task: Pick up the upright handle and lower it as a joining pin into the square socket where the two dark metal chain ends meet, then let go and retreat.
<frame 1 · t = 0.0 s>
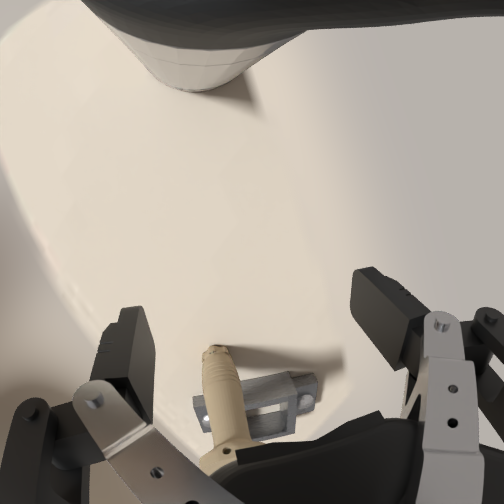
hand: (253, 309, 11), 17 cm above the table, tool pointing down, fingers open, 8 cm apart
handle: (215, 352, 35), on the table
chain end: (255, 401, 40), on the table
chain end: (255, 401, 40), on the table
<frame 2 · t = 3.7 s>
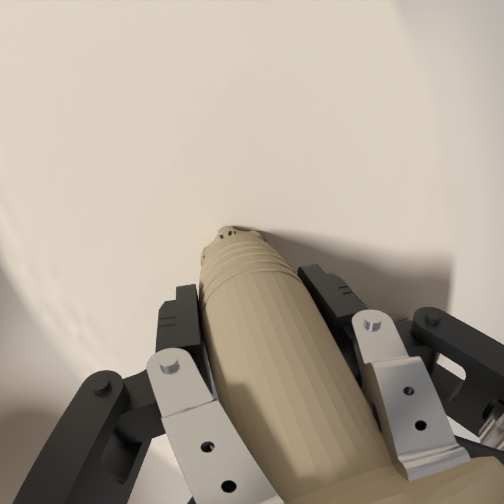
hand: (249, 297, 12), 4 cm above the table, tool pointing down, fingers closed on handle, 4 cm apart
handle: (233, 251, 16), on the table, touching gripper
when the fingers open (6 cm above the table, at t = 9.1 s): handle drops 1 cm, on the table.
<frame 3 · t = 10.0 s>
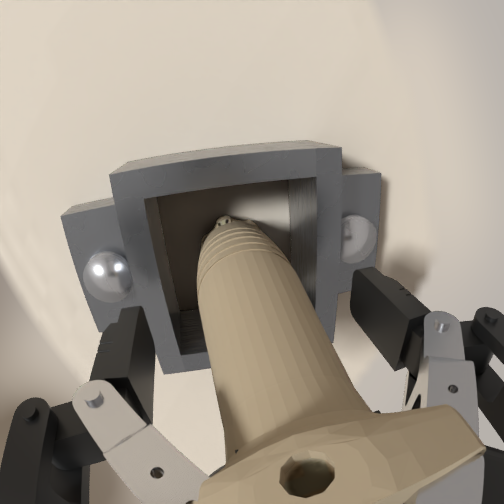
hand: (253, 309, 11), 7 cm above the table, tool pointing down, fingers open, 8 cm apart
handle: (230, 239, 17), on the table
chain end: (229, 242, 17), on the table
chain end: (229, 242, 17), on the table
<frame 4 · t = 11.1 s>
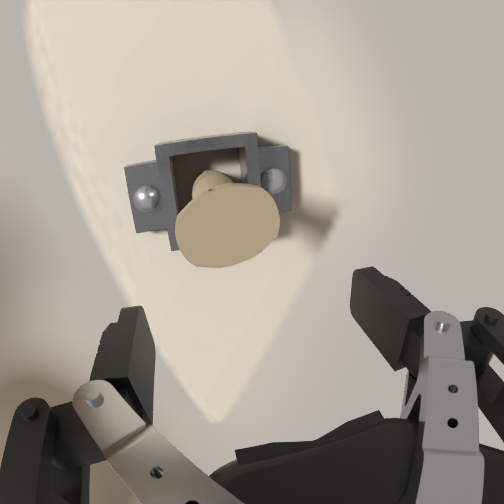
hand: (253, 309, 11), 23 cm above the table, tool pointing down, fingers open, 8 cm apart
handle: (209, 183, 32), on the table
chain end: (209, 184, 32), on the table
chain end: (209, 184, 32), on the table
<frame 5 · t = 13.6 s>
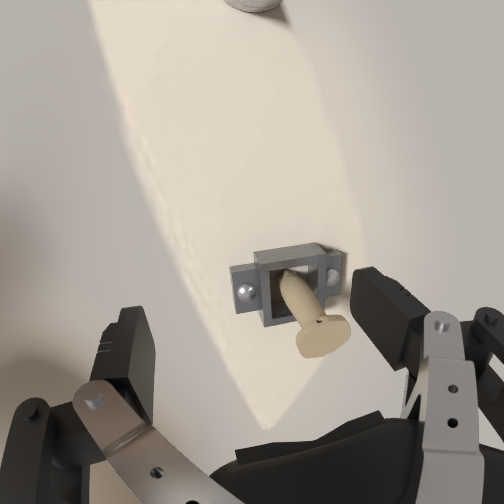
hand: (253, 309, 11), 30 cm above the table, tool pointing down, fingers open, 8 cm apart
handle: (286, 277, 47), on the table
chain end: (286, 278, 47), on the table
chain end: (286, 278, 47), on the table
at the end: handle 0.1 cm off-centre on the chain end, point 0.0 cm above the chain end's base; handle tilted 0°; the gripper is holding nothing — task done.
